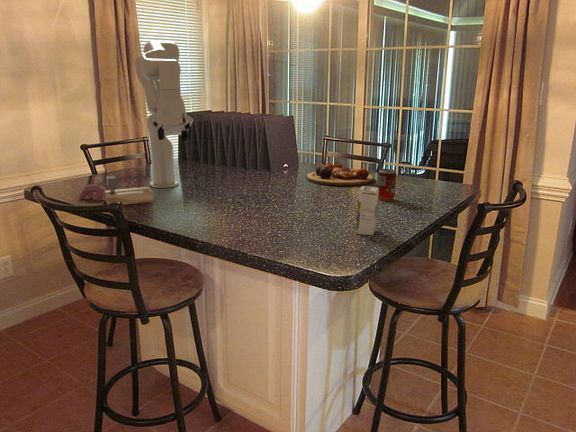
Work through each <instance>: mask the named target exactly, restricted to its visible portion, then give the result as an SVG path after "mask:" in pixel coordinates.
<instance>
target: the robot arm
mask: <svg viewBox="0 0 576 432" xmlns="http://www.w3.org/2000/svg"><path fill="white" fill-rule="evenodd" d="M179 49H180V48H179V45H177V43H175V42H174V41H167V40H166V41H159V40H151V41H148V42H147V43H145V45H144V47H143V54H140V55H137V56H136V58H135V60H134V68H135V75H136V77H137V78H138V80H139V83H140V84H141V86H142V89H143V90H144V91H143V92H144V99H145V101H146V102H145V103H146V107H147V110H148V112H149V114H150V115H148V117H147V118H146V126H147V131H148V135H149V142H150V143H149V144H150V153H151V167H152V170H151V171H152V181H150V182H149V187H150V188H151V187H152V188H155V189H167V188H169V189H170V188H174V187H178V186H179V181H178V180H176V173H175V155H174V154H175V153H174V145H173V143H172V142H171V140H169V139H168V137H169V136H181V142H185V141H188V139H189V138H188V136H189V134H188V132H189V129H190V128H191V126H192V124H193V122H194V118H193V117H191V116H189V115H188V114H187V111H186V110H187V109H186V106H185V101H184V99H183V97H182V95H181V93H182V92H181V77H180V76H181V66H180V63H179V60H180V50H179ZM167 136H168V137H167Z"/></svg>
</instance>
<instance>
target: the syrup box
mask: <svg viewBox="0 0 576 432" xmlns="http://www.w3.org/2000/svg"><path fill="white" fill-rule="evenodd" d="M378 193H379V188H378V187H376V186H375V187H374V186H368V185H367V186H365V185H363V186H362V185H361V187H360V188H359V189H358V197H357V210H356V225H355V235H357V234H358V235H366V236H367V235H368V236H374V234H375V232H376V229H377V216H378V215H377V214H378V206H379V205H378V204H379V198H378Z"/></svg>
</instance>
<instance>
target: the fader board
mask: <svg viewBox="0 0 576 432" xmlns="http://www.w3.org/2000/svg"><path fill="white" fill-rule="evenodd" d="M104 197H105V203H106V205H107V204H110V203H113V202H122V204H123V205H131V204H133V205H134V204H142V203H143V204H144V203H152V202H153V203H154V202H155V200H154V199H155V197H154V190H152V189H151V186H143V187H131V188H117V189H115V192H110V189H106V190H105V195H104Z"/></svg>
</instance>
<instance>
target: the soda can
mask: <svg viewBox="0 0 576 432" xmlns="http://www.w3.org/2000/svg"><path fill="white" fill-rule="evenodd" d="M397 174H398V173H397V171H396V170H395V169H392V168H381V169H380V170H378V175H377V176H378V178H377V188H379V193H378V201H380V202H392V201H393V199H394V198H395V195H396V184H397Z"/></svg>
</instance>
